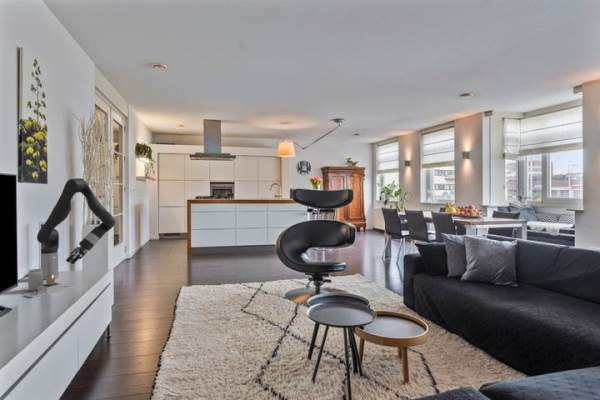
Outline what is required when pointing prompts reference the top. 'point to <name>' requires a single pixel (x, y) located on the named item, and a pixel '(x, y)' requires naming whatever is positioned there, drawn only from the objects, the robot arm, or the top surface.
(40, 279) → the can
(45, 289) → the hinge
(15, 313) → the top surface
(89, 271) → the top surface
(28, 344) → the top surface
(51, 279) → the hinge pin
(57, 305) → the top surface
